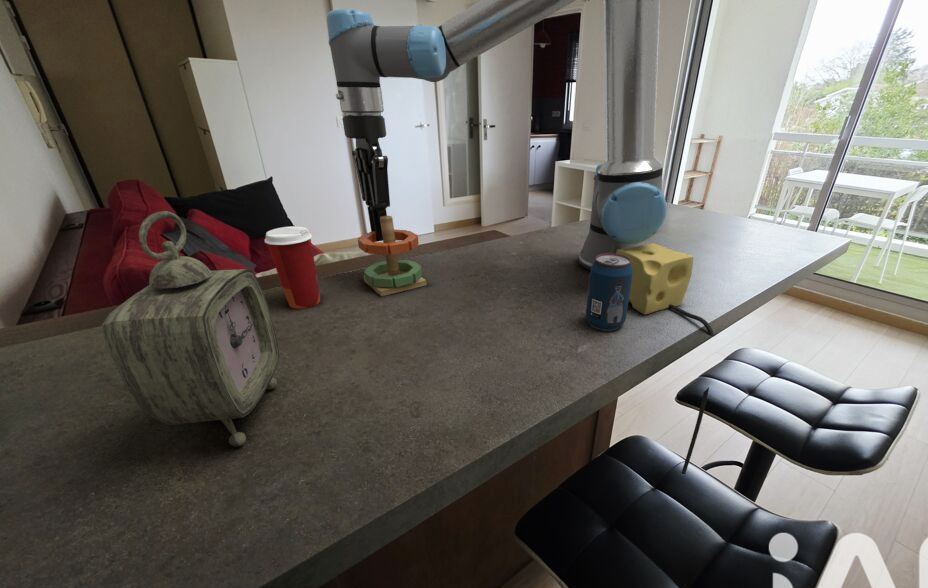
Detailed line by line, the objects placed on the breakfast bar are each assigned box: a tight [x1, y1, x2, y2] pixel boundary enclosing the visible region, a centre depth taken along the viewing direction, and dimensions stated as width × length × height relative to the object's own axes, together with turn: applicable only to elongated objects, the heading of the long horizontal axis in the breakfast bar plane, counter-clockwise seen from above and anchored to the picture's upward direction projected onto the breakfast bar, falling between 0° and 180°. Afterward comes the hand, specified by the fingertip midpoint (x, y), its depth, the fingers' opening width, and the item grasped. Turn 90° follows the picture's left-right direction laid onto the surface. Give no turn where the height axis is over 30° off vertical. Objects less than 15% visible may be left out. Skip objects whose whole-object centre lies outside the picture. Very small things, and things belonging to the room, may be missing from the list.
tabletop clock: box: [101, 210, 280, 448], centre depth 45 cm, size 14×9×25 cm, turn 9°
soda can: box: [585, 253, 633, 332], centre depth 71 cm, size 7×7×12 cm
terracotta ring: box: [357, 228, 420, 256], centre depth 85 cm, size 11×11×2 cm
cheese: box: [616, 242, 694, 316], centre depth 80 cm, size 10×11×10 cm
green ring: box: [363, 259, 423, 287], centre depth 88 cm, size 11×11×2 cm
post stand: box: [363, 215, 427, 297], centre depth 86 cm, size 10×10×14 cm
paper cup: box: [264, 225, 321, 310], centre depth 77 cm, size 8×8×14 cm
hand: (381, 238), depth 88 cm, fingers closed on terracotta ring, 2 cm apart
